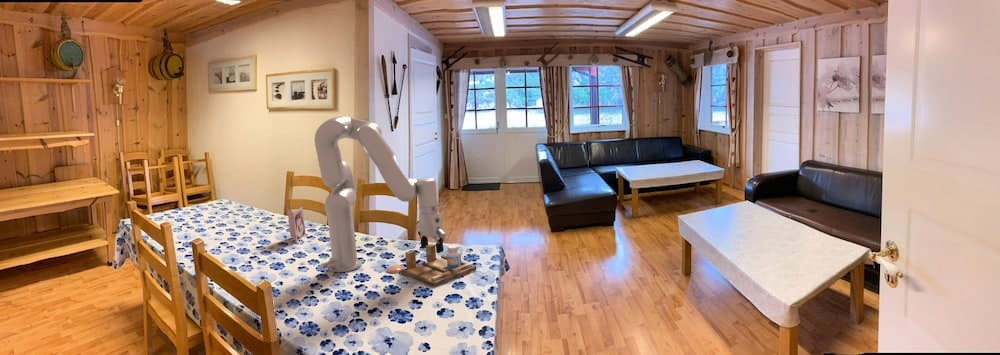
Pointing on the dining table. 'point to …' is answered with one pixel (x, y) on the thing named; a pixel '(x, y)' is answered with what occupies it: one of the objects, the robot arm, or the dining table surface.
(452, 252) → the pill bottle
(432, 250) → the slat bottle lane
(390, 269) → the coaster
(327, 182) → the robot arm
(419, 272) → the tan wooden block
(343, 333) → the dining table surface
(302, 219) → the greeting card
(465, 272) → the lane rails
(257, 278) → the dining table surface
